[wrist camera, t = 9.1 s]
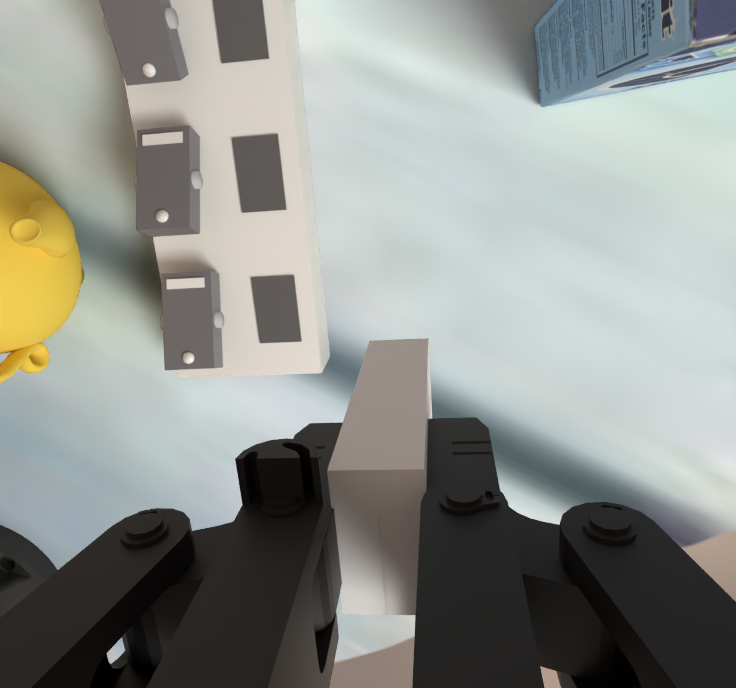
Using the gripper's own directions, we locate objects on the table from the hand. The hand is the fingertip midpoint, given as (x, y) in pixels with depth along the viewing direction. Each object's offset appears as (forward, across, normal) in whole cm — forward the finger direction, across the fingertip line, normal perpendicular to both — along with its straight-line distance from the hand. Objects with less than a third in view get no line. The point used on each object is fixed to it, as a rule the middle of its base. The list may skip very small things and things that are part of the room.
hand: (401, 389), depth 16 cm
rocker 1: (+21, -14, +14) cm, 29 cm away
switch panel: (+26, -12, +5) cm, 29 cm away
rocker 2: (+21, -14, +5) cm, 26 cm away
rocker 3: (+21, -14, -4) cm, 26 cm away
